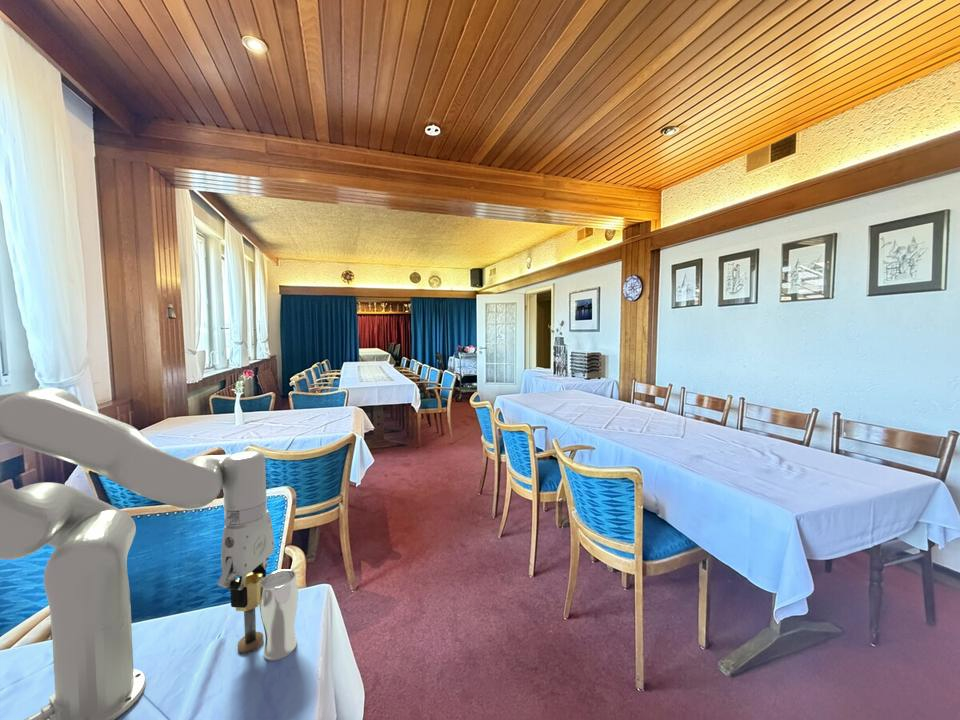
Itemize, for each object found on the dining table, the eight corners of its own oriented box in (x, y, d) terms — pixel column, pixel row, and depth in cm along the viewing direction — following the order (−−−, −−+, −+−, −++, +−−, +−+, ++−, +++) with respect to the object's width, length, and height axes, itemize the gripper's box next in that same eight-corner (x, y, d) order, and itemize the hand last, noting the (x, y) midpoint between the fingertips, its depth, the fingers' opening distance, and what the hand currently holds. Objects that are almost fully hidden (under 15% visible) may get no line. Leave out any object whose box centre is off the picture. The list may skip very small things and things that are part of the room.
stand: (245, 656, 76) (243, 618, 76) (233, 647, 78) (232, 610, 78) (267, 641, 80) (266, 604, 80) (255, 633, 82) (254, 597, 82)
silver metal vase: (305, 637, 81) (303, 569, 80) (286, 664, 74) (283, 590, 74) (275, 634, 82) (273, 567, 81) (253, 661, 75) (250, 588, 74)
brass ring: (229, 610, 77) (228, 586, 76) (247, 594, 81) (246, 571, 81) (252, 611, 76) (251, 587, 76) (268, 595, 81) (268, 572, 81)
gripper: (232, 533, 69) (235, 628, 70) (287, 496, 86) (290, 573, 87) (194, 531, 70) (198, 626, 71) (257, 495, 87) (260, 571, 88)
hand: (249, 596), depth 79 cm, fingers closed on brass ring, 5 cm apart
